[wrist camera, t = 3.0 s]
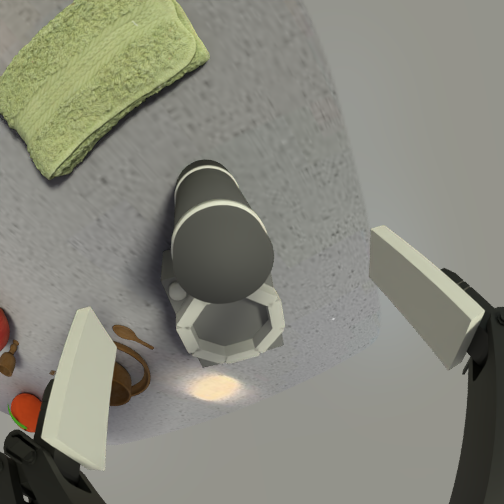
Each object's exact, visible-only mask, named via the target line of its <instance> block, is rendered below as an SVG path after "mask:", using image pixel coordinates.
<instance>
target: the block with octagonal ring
mask: <svg viewBox="0 0 504 504" xmlns="http://www.w3.org/2000/svg"><path fill="white" fill-rule="evenodd" d="M161 283H162V285H163V287H164V289H165V292H166V294H167V296H168V298H169V300H170V303H171V305H172V307H173V309H174V311H175V313H176V330H177V332H178V334H179V336H180V338H181V340H182V342H183V344H184V345H185V347H186V349H187V351H188V353H192V356H194V357H198V359H199V361H200V363H201V365H202V367H203V368H204V367H208V366H212V365H216V364H223V363H224V362H226V363H227V364H230V363H234V362H238V361H241V360H245V359H248V358H252V357H255V356H259V355H260V354H259V353H260V352H262V353H264V352H265V351H267V350H270V349H273V348H276V347H280V346H283V345H284V344H283V338H282V332H283V331H284V329H283V327H285V322H284V316H283V310H282V304H281V300H280V297H279V295H278V293H277V291H275V289H274V288H273V282H272V277H271V272H270V274H269V276H268V278H267V280H266V281H265V282H264V284H263V285H262V286H261V287H260V288H259V289H258V290H257V291H255V292H254V293H253V294H251V295H250V296H248V297H246V298H244V299H242V300H239V301H236V302H232V303H226V304H212V303H207V302H203V301H200V300H198V299H196V298H194V297H192V296H190V295H189V294H188V293H186V292H185V291H184V290H183V289H182V288H181V286H180V285H179V283H178V282H177V280H176V278H175V275H174V272H173V260H172V255H171V249H170V250H167V251H163V259H162V271H161Z"/></svg>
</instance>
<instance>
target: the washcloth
mask: <svg viewBox="0 0 504 504" xmlns="http://www.w3.org/2000/svg"><path fill="white" fill-rule="evenodd" d="M209 58H210V56H209V52H208V51H207V49H206V48H205V46H204V45H203V43H202V41H201V40H200V39H199V37H198V36H197V34H196V33H195V30H194V28H193V26H192V25H191V23H190V21H189V19H188V18H187V16H186V14H185V13H184V11H183V9H182V8H181V6H180V5H179V4H178V3H177V2H176V1H175V0H74V2H73V3H72V4H71V5H69V6H67V7H66V8H65V9H64V10H63V12H60V13H59V14H58V15H57V16H55V18H54V19H53V20H50V21H49V23H48V24H47V26H44V27H43V28H42V29H41V30H40V31H39V32H38V34H36V35H35V37H33V38H32V41H30V42H29V44H27V45H25V46H24V47H23V48H22V49H21V50H20V51H19V53H18V55H15V57H14V58H13V60H12V62H11V63H10V65H9V66H8V67H7V68H6V71H5V72H4V73H3V75H2V76H0V113H1V114H2V115H3V116H4V119H5V120H7V122H8V125H9V127H10V128H12V129H15V130H17V132H18V134H19V135H20V136H21V138H22V139H23V140H24V141H25V143H26V144H27V151H28V152H29V153H30V158H33V162H34V164H35V166H36V168H37V169H38V170H39V171H40V172H41V174H42V175H43V176H45V177H46V178H47V179H48V180H51V179H53V178H54V177H58V176H63V175H66V174H69V173H71V172H72V171H73V168H74V167H75V166H76V165H77V164H79V162H82V161H83V159H84V157H85V156H86V155H87V152H89V151H90V150H92V148H93V146H94V145H95V144H96V143H97V141H98V140H99V139H101V137H103V136H104V135H105V134H106V133H108V131H110V130H111V129H112V126H115V125H116V124H117V123H118V121H119V120H120V119H122V118H123V117H124V116H126V114H127V113H129V112H130V111H132V109H134V108H135V107H138V106H139V105H140V104H142V101H143V102H144V101H145V100H146V98H149V96H151V95H153V94H155V93H158V91H161V89H162V88H164V87H165V86H169V85H171V84H172V83H173V82H174V81H175V80H178V79H180V78H181V77H183V76H184V74H185V73H187V72H191V71H193V70H194V69H196V68H198V67H199V66H200V65H203V64H204V63H205V62H206V61H208V60H209Z"/></svg>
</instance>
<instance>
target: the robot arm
mask: <svg viewBox="0 0 504 504" xmlns="http://www.w3.org/2000/svg"><path fill="white" fill-rule="evenodd" d="M369 277H370V279H371V280H372V281H373V282H374V283H375V284H376V285H377V286H378V287H379V289H380V290H381V291H382V292H383V293H384V294H385V295H386V296H387V297H388V298H389V299H390V301H391V302H392V303H393V304H394V305H395V307H396V308H397V309H398V310H399V311H400V312H401V313H402V315H403V316H404V317H405V318H406V319H407V320H408V322H409V323H410V324H411V325H412V326H413V328H414V329H415V330H416V331H417V332H418V334H419V335H420V336H421V337H422V338H423V340H424V341H425V342H426V343H427V344H428V346H429V347H430V348H431V349H432V351H433V352H434V353H435V354H436V356H437V357H438V358H439V359H440V361H441V362H442V363H443V365H444V366H445V367H446V368H447V370H450V369H452V368H453V367H455V366H456V365H458V364H459V363H461V362H462V360H463V358H464V356H465V354H466V352H467V353H468V354H469V355H470V356H471V357H470V359H469V360H468V362H467V364H466V366H465V368H464V369H463V373H462V374H465V373H466V371H467V369H468V368H469V372H468V397H467V409H466V420H465V428H464V436H463V443H462V449H461V455H460V460H459V465H458V470H457V475H456V479H455V483H454V487H453V491H452V495H451V498H450V502H449V504H504V307H497V308H494V307H492V306H491V305H490V304H489V303H488V302H487V301H486V300H485V299H484V298H483V297H482V296H481V295H479V294H478V293H477V292H476V291H475V290H474V289H473V288H472V287H471V288H470V286H469V285H468V284H467V283H466V282H464V281H463V279H461V278H460V277H459V276H458V275H457V274H456V273H454V272H452V271H450V270H447V269H445V268H443V269H441V270H439V268H437V267H436V266H435V265H434V264H433V263H431V262H430V261H429V260H428V259H427V258H425V257H424V256H423V255H422V254H420V253H419V252H418V251H417V250H416V249H414V248H413V247H412V246H410V245H409V244H408V243H407V242H405V241H404V240H403V239H402V238H400V237H399V236H397V235H396V234H395V233H394V232H392V231H391V230H390V229H388V228H387V227H386V226H384V225H382V226H379V227H376V228H372V229H371V238H370V267H369ZM116 351H117V347H116V345H115V344H114V342H113V341H112V339H111V338H110V336H109V335H108V333H107V332H106V330H105V329H104V327H103V326H102V324H101V323H100V321H99V320H98V318H97V316H96V315H95V313H94V312H93V310H92V308H91V307H86V308H82V309H79V310H77V312H76V315H75V318H74V320H73V323H72V326H71V329H70V331H69V334H68V337H67V340H66V343H65V346H64V349H63V352H62V355H61V359H60V362H59V365H58V369H57V372H56V376H55V379H51V380H50V382H49V384H48V385H47V387H46V389H45V391H44V395H43V399H42V400H43V402H42V403H41V407H40V409H41V410H40V411H39V416H38V420H37V425H36V429H35V435H34V439H31V438H30V437H29V436H28V435H26V434H25V433H24V432H22V431H20V430H13V431H12V432H10V433H9V434H8V436H7V437H6V439H5V442H4V453H1V452H0V504H106V503H105V502H104V500H103V499H102V498H101V497H100V495H99V494H98V493H97V491H96V490H95V489H94V487H93V486H92V484H91V483H90V482H89V480H88V479H87V477H86V476H85V475H84V474H83V473H82V472H81V471H80V465H82V466H84V467H85V468H87V469H89V470H105V457H106V438H107V424H108V413H109V403H110V394H111V386H112V378H113V371H114V364H115V358H116ZM5 454H6V455H7V456H6V455H5ZM8 456H9V457H10V458H9V457H8ZM23 495H25V496H27V497H28V499H29V503H28V502H26V501H24V498H23Z"/></svg>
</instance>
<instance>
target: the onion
mask: <svg viewBox="0 0 504 504" xmlns="http://www.w3.org/2000/svg"><path fill="white" fill-rule="evenodd" d="M9 333H10V329H9V324H8V321H7V318H6V316H5V315H4V312H3V310H2V309H1V308H0V351H1V350H2V349H3V348H4V347H5V346H6V344H7V342H8V339H9Z"/></svg>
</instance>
